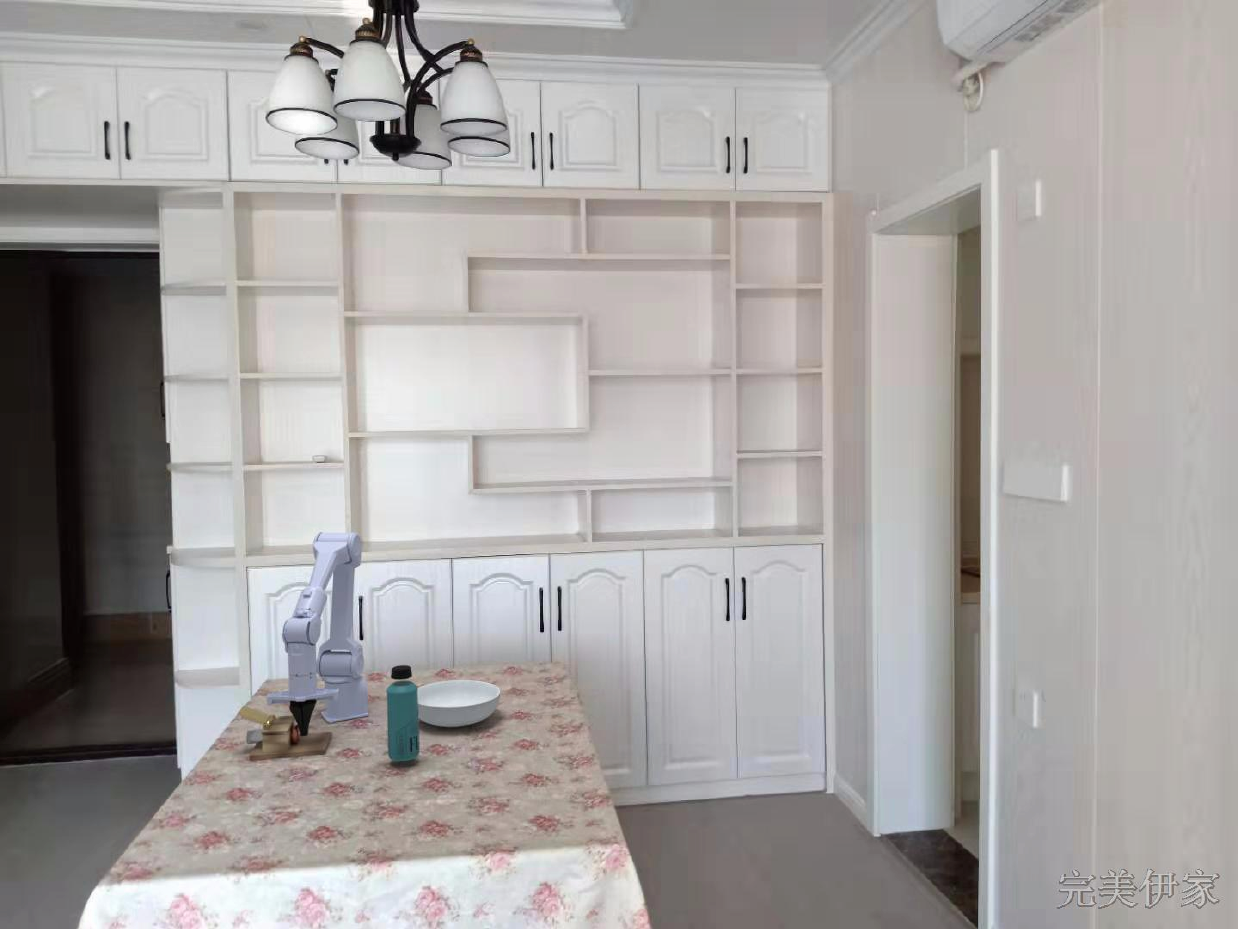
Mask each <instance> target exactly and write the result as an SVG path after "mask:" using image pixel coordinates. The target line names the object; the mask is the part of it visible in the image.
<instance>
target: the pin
mask: <svg viewBox="0 0 1238 929" xmlns="http://www.w3.org/2000/svg"><path fill="white" fill-rule="evenodd" d="M262 732H263V729H253V730H247V731H246V735H245V737H246V745H256V744H258V743H262ZM299 735H300V731H299V728H298V725H297V724H296V725H292V727H291V728H290V741H291V743H298V742H299Z"/></svg>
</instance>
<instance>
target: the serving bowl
mask: <svg viewBox="0 0 1238 929" xmlns="http://www.w3.org/2000/svg"><path fill="white" fill-rule="evenodd" d="M417 696H418V703H419V704H418V711H419V712H418V719H419V720H421V721H423V722H424V723H427V724H429V725H433V726H436V727H445V728H461V727H460V726H462V727H465V725H466V726H470V725H473V724H474V725H475V724H476V723H479V722H482V721H483V720H486V719H488V718H489V717H491V715H492V714H493V713H494V712H495V710H497V709H496V708H497V707H498V706H499V702H500V699H501V698H500V697H501V689H500V688H499V687H498V686H497V685H495V684H493V683H490V682H486V681H481V680H472V679H453V680H452V679H451V680H442V681H438V682H437V681H435V682H432V683H429V684H424V685H422V686H419V687H418V689H417Z"/></svg>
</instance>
